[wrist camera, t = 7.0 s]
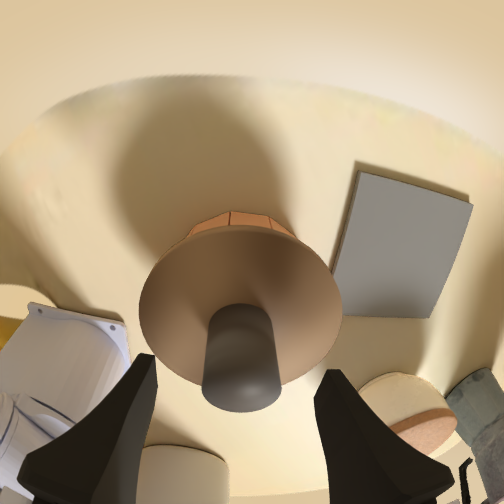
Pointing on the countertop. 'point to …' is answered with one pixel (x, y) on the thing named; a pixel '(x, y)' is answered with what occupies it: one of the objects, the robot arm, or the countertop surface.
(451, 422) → the lidded jar
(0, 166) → the countertop surface
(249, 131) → the countertop surface
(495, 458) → the moka pot
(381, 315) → the mat
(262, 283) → the lid
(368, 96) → the countertop surface
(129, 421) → the robot arm
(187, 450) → the cylinder vase
